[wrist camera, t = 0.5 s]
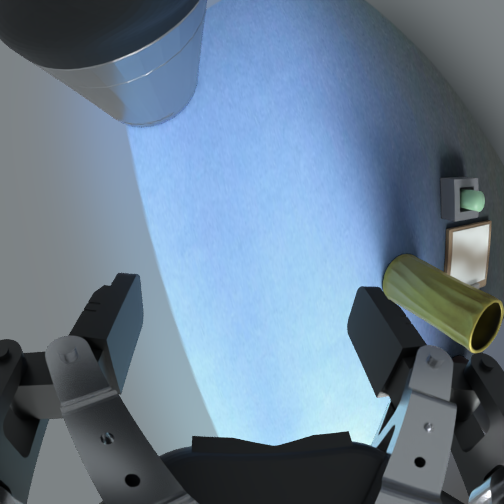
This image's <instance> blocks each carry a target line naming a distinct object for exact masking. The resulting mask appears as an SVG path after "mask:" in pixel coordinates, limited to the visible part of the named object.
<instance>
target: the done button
mask: <svg viewBox="0 0 504 504" xmlns="http://www.w3.org/2000/svg"><path fill="white" fill-rule="evenodd" d="M484 203H485V198H484V195H483V193H482V192H481V191H475V190H468V189H460V208H464V209H469V210H473V211H478V212H479V211H481V210H482V209H483V207H484Z"/></svg>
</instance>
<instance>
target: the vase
mask: <svg viewBox="0 0 504 504" xmlns="http://www.w3.org/2000/svg"><path fill="white" fill-rule="evenodd" d="M383 291H384V294H385V295H386V296H387V298H388V299H389V300H391V301H393V302H394V303H396V304H398V305H400V306H401V307H403V308H405V309H406V310H408V311H410V312H411V313H413V314H415V315H416V316H418V317H420V318H421V319H423V320H425V321H426V322H428V323H429V324H431V325H433V326H434V327H436V328H437V329H439V330H440V331H442V332H443V333H444V334H446V335H447V336H449V337H450V338H452V339H453V340H454V341H456V342H457V343H459V344H461V345H463V346H464V347H465V348H467V349H468V350H469V351H470V352H472V353H479V352H482V351H483V350H485V349H486V348H487V347H488V346H489V345H490V344H491V342H492V341H493V340H494V338H495V337H496V335H497V333H498V331H499V329H500V326H501V323H502V319H503V314H504V308H503V305H502V302H501V301H500V300H498V299H497V298H495V297H494V296H492V295H490V294H488V293H486V292H483V291H481V290H479V289H477V288H475V287H473V286H470V285H468V284H466V283H464V282H462V281H460V280H458V279H456V278H454V277H452V276H450V275H449V274H447V273H445V272H443V271H441V270H439V269H438V268H436V267H434V266H432V265H430V264H428V263H427V262H425V261H423V260H421V259H419V258H417V257H416V256H414V255H411V254H403V255H400V256H398V257H397V258H395V259H394V260H393V261H392V262H391V263H390V265H389V266H388V268H387V269H386V272H385V275H384V279H383Z"/></svg>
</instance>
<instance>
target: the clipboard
mask: <svg viewBox="0 0 504 504" xmlns="http://www.w3.org/2000/svg"><path fill="white" fill-rule="evenodd" d="M490 238H491V221H490V220H487V221H482V222H477V223H473V224H468V225H463V226H458V227H453V228H448V229H446V249H445V266H444V272H445V273H447V274H449V275H450V276H452V277H454V278H456V279H458V280H460V281H462V282H464V283H466V284H468V285H470V286H473V287H475V288H477V289H479V288H480V287H483V286H485V285H486V279H487V271H488V262H489V251H490Z"/></svg>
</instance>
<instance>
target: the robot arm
mask: <svg viewBox="0 0 504 504" xmlns="http://www.w3.org/2000/svg"><path fill="white" fill-rule="evenodd" d="M206 3H207V0H0V39H1V40H2V41H3V42H4V43H5V44H6V45H7V46H8V47H9V48H11V49H12V50H14V51H15V52H17V53H18V54H20V55H21V56H23V57H24V58H26V59H27V60H29V61H31V62H32V63H34V64H35V65H36V66H38V67H40V68H41V69H43V70H44V71H46V72H47V73H48V74H50V75H51V76H53V77H55V78H56V79H57V80H59V81H61V82H62V83H64V84H65V85H67V86H68V87H70V88H71V89H73V90H74V91H76V92H77V93H79V94H80V95H82V96H83V97H84V98H86V99H87V100H89V101H90V102H92V103H93V104H95V105H96V106H97V107H99V108H100V109H102V110H103V111H104V112H106V113H107V114H109V115H110V116H112V117H113V118H115V119H116V120H118V121H120V122H121V123H123V124H126V125H129V126H134V127H151V126H155V125H159V124H162V123H164V122H166V121H168V120H170V119H172V118H173V117H175V116H176V115H177V114H179V113H180V112H181V111H182V110H183V109H184V108H185V107H186V106H187V105H188V103H189V101H190V100H191V98H192V96H193V95H194V92H195V89H196V86H197V78H198V70H199V62H200V53H201V44H202V36H203V28H204V20H205V13H206ZM142 324H143V303H142V293H141V282H140V276H139V275H138V274H128V273H118V274H117V275H116V277H115V279H114V281H113V282H112V285H111V286H106V285H104V286H102V287H101V288H100V289H98V290H97V291H95V292H94V293H93V295H92V297H91V298H90V300H89V303H88V304H87V305H86V307H85V308H84V311H83V312H82V314H81V315H80V317H79V318H78V320H77V322H76V324H75V325H74V327H73V329H72V331H71V332H70V334H69V336H64V337H60V338H58V339H56V340H54V341H53V342H51V343H50V345H49V346H48V347H47V349H46V352H35V353H23V351H22V349H21V347H20V345H19V344H18V343H17V342H16V341H14V340H9V339H4V340H0V504H27V499H28V495H29V490H30V486H31V481H32V477H33V473H34V469H35V465H36V462H37V457H38V454H39V451H40V447H41V444H42V440H43V437H44V434H45V430H46V427H47V424H48V421H49V419H57V418H64V421H65V423H66V426H67V428H68V430H69V433H70V435H71V438H72V440H73V442H74V444H75V447H76V449H77V451H78V453H79V455H80V457H81V460H82V462H83V464H84V466H85V467H86V470H87V472H88V474H89V476H90V478H91V479H92V481H93V483H94V485H95V487H96V489H97V491H98V492H99V494H100V496H101V498H102V499H103V501H102V502H101V503H99V504H464V503H462V502H460V501H459V500H457V499H456V498H454V497H452V496H451V495H449V494H447V493H446V492H444V491H442V485H443V482H444V478H445V473H446V469H447V465H448V460H449V455H450V450H451V452H452V454H453V456H454V459H455V461H456V463H457V466H458V469H459V471H460V474H461V476H462V479H463V481H464V484H465V487H466V490H467V492H468V495H469V504H504V371H503V370H502V368H501V367H500V365H499V364H498V363H497V361H495V360H494V359H493V358H492V357H491V356H489V355H487V354H483V353H475V354H474V355H472V357H471V359H470V360H469V362H468V364H463V363H455V362H453V361H452V358H451V357H450V356H449V354H448V353H447V352H445V351H444V350H442V349H441V348H439V347H436V346H431V345H427V344H426V343H425V341H424V340H423V339H422V337H421V336H420V334H419V333H418V331H417V330H416V329H415V327H414V326H413V324H411V322H410V320H409V319H408V317H406V315H405V313H404V312H403V310H402V309H401V308H400V307H399V306H398V305H397V304H395V303H394V302H393V301H391V300H389V299H388V298H387V296H386V295H385V294H384V292H383V291H382V290H381V288H379V287H363V286H362V287H360V288H359V289H358V290H357V293H356V296H355V300H354V303H353V306H352V309H351V313H350V316H349V319H348V324H347V329H348V335H349V337H350V339H351V341H352V344H353V346H354V348H355V350H356V352H357V355H358V357H359V359H360V361H361V363H362V366H363V368H364V370H365V372H366V374H367V377H368V379H369V381H370V383H371V386H372V388H373V390H374V393H375V395H376V397H377V398H379V397H386V396H389V397H390V399H391V400H390V402H389V403H388V405H387V407H386V410H385V413H384V415H383V418H382V420H381V423H380V425H379V428H378V430H377V433H376V435H375V437H374V440H373V442H372V444H371V446H370V445H367V444H363V443H358V442H352V441H351V438H350V434H349V431H347V432H339V433H330V434H320V435H312V436H309V437H306V438H303V439H299V440H296V441H292V442H289V443H285V444H282V445H278V446H271V445H265V444H260V443H255V442H250V441H245V440H240V439H236V438H222V437H200V436H192V446H191V447H184V448H181V449H176V450H173V451H170V452H168V453H165V454H163V455H161V456H158V455H157V453H156V452H155V451H154V450H153V448H152V446H151V445H150V443H149V442H148V440H147V439H146V438H145V436H144V435H143V433H142V431H141V430H140V428H139V427H138V425H137V424H136V422H135V421H134V419H133V418H132V416H131V414H130V413H129V411H128V410H127V408H126V406H125V405H124V403H123V401H122V399H121V398H120V396H119V394H121V393H122V389H123V386H124V383H125V379H126V376H127V372H128V369H129V366H130V362H131V359H132V356H133V353H134V350H135V347H136V343H137V340H138V337H139V334H140V331H141V328H142ZM480 403H481V405H482V406H483V408H484V410H485V412H486V413H487V415H488V417H489V419H490V429H489V431H488V432H487V434H486V435H484V433H483V431H482V429H481V427H480V425H479V423H478V421H477V420H476V418H475V416H474V414H473V412H474V411H475V409H476V408H477V407H478V406H479V404H480Z"/></svg>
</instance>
